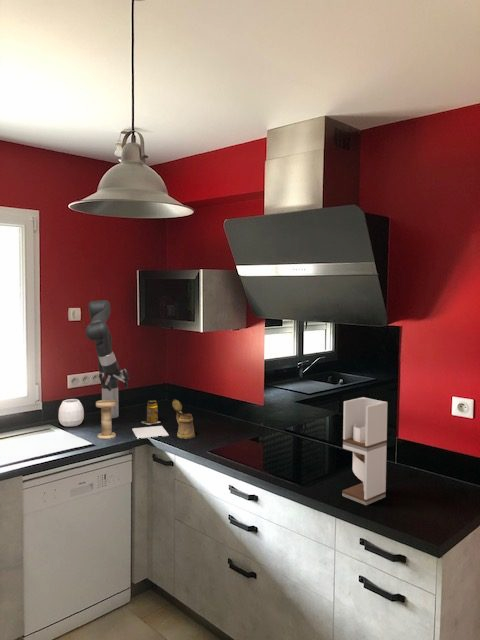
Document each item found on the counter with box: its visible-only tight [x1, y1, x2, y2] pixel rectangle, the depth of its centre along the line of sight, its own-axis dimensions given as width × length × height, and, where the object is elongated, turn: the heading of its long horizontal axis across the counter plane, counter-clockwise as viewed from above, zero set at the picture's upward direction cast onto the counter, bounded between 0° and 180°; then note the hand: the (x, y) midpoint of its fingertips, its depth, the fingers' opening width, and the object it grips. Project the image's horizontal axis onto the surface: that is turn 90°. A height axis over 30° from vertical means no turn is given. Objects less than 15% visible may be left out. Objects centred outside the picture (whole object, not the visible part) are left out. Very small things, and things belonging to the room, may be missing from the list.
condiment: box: [141, 399, 160, 425], centre depth 292 cm, size 7×8×12 cm
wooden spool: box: [95, 399, 117, 440], centre depth 264 cm, size 10×10×18 cm
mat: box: [131, 425, 170, 440], centre depth 272 cm, size 18×16×1 cm
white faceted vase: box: [58, 398, 85, 427], centre depth 286 cm, size 13×13×14 cm
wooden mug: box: [171, 398, 196, 440], centre depth 266 cm, size 9×14×18 cm, turn 49°
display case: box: [341, 396, 388, 506], centre depth 190 cm, size 11×11×35 cm
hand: (118, 388), depth 262 cm, fingers open, 8 cm apart
